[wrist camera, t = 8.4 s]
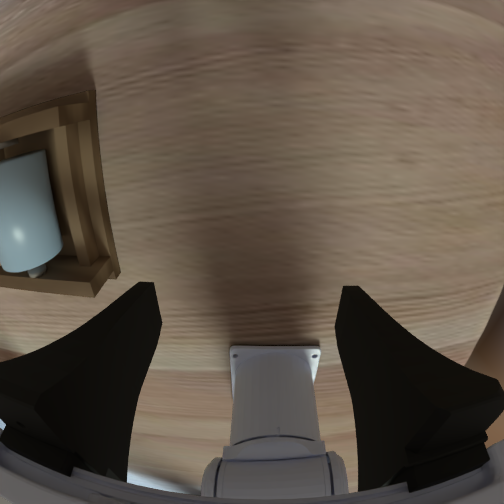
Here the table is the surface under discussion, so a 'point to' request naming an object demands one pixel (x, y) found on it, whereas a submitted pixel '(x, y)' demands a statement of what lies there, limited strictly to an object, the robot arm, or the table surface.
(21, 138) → the holder
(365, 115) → the table surface
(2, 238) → the tapered cup
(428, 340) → the table surface
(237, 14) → the table surface
